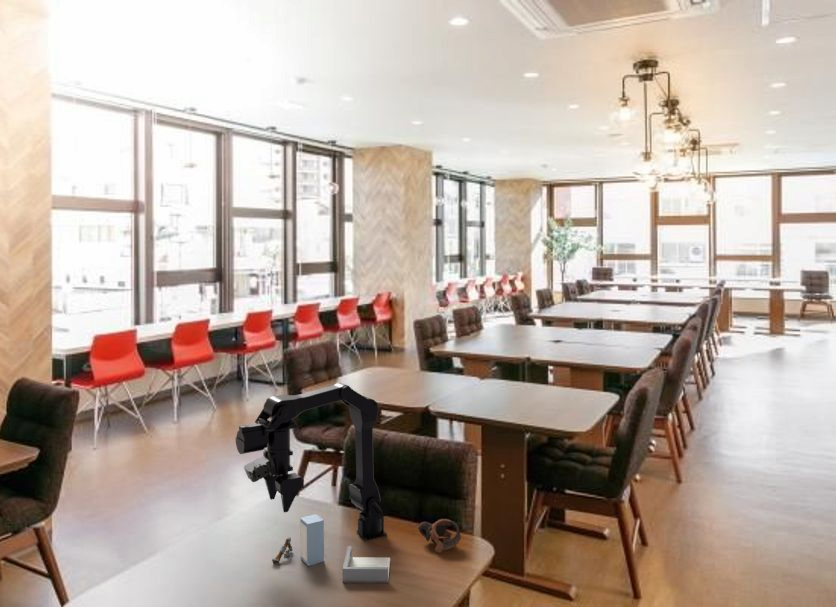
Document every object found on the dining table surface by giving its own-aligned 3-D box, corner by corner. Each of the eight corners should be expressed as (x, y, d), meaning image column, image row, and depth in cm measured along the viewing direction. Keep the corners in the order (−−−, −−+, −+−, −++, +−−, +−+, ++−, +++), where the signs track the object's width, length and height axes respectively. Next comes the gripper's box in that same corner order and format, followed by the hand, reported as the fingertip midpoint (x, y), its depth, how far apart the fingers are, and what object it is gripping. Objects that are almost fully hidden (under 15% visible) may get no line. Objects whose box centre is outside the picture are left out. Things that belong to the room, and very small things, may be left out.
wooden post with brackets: (296, 547, 178) (292, 535, 175) (281, 572, 171) (277, 560, 169) (290, 546, 178) (286, 534, 176) (275, 571, 172) (271, 558, 170)
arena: (347, 559, 173) (347, 546, 173) (390, 559, 173) (390, 546, 173) (342, 582, 161) (342, 568, 161) (387, 583, 161) (387, 569, 161)
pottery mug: (461, 539, 186) (466, 521, 181) (452, 568, 179) (457, 549, 174) (420, 525, 188) (424, 506, 183) (410, 552, 181) (414, 534, 176)
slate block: (316, 554, 176) (316, 514, 175) (324, 561, 172) (323, 520, 171) (300, 558, 173) (299, 518, 172) (307, 566, 169) (307, 524, 168)
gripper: (235, 441, 172) (236, 499, 174) (260, 463, 157) (261, 526, 159) (276, 434, 179) (276, 490, 180) (304, 455, 163) (304, 516, 165)
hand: (278, 505), depth 171 cm, fingers open, 9 cm apart
